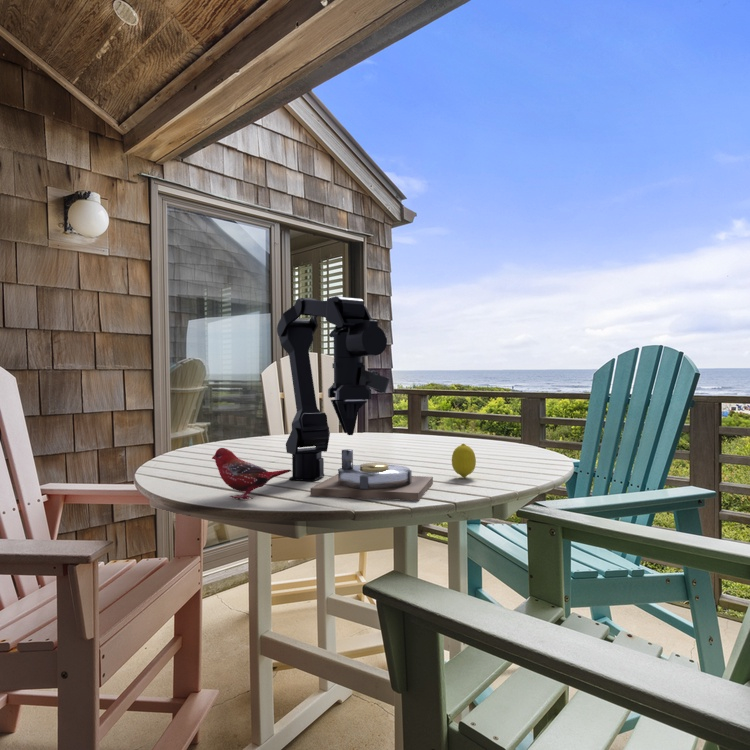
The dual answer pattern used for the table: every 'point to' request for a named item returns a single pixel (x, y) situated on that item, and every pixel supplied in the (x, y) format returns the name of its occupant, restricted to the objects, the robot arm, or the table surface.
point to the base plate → (374, 490)
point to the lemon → (463, 460)
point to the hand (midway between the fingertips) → (348, 434)
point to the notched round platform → (371, 474)
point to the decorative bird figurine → (242, 473)
